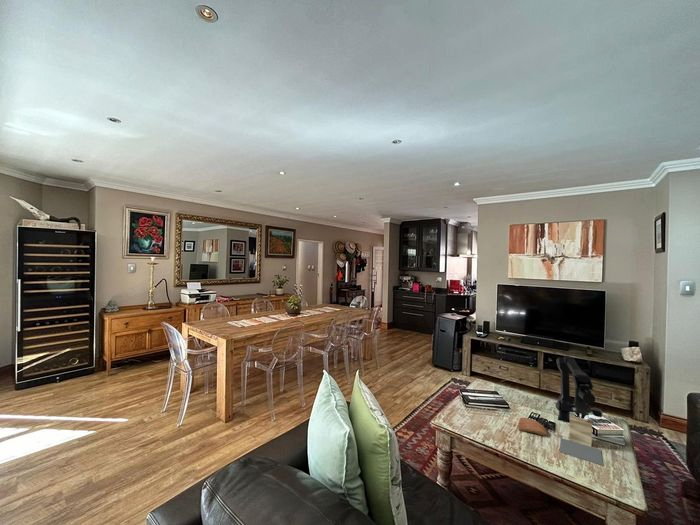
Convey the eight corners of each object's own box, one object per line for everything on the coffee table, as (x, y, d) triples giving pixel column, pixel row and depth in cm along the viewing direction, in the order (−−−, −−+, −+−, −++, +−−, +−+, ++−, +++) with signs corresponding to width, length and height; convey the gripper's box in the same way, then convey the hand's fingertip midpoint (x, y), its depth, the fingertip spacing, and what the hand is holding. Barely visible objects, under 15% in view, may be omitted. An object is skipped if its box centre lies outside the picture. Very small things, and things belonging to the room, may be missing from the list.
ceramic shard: (545, 418, 190) (547, 433, 177) (543, 427, 192) (545, 443, 179) (518, 409, 197) (518, 423, 184) (516, 418, 198) (517, 432, 185)
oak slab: (569, 436, 179) (569, 415, 178) (591, 442, 173) (591, 420, 172) (569, 440, 176) (569, 418, 175) (591, 446, 170) (591, 424, 169)
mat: (560, 438, 177) (560, 437, 177) (600, 450, 167) (600, 449, 167) (559, 452, 164) (559, 451, 164) (603, 465, 154) (603, 465, 154)
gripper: (560, 396, 175) (560, 423, 175) (603, 406, 164) (602, 435, 164) (561, 390, 184) (560, 415, 184) (601, 398, 173) (600, 426, 173)
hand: (580, 423), depth 176 cm, fingers closed
